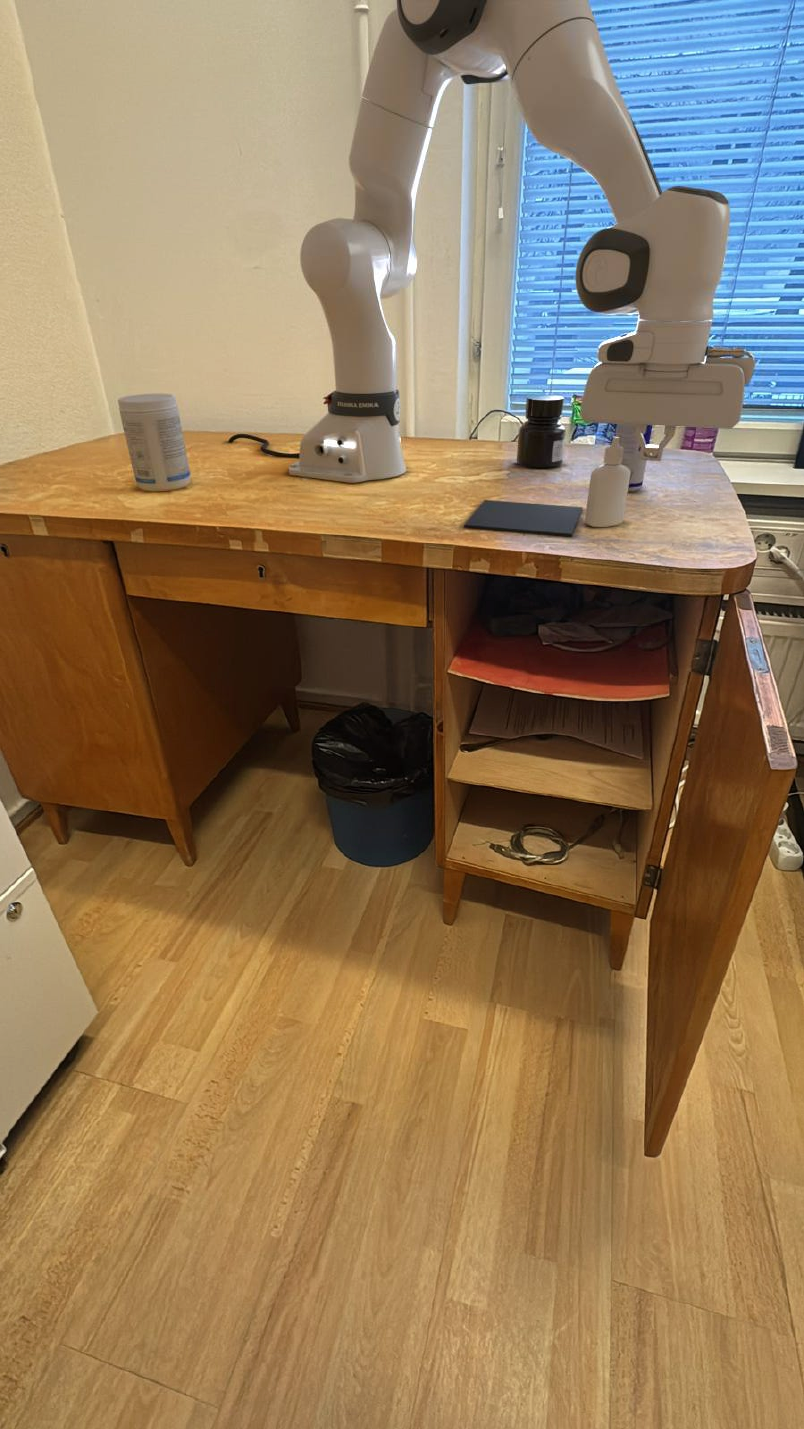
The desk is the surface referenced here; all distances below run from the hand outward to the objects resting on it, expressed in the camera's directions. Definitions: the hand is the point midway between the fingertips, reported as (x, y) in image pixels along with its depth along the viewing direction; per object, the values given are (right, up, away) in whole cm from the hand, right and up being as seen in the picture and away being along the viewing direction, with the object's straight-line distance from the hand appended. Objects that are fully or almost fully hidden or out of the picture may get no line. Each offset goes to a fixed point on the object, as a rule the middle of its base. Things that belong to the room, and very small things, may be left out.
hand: (649, 459), depth 94 cm
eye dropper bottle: (-4, -7, +7) cm, 11 cm away
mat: (-16, -5, +9) cm, 19 cm away
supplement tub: (-77, +6, +29) cm, 83 cm away
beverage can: (+4, +4, +24) cm, 24 cm away
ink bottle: (-7, +14, +40) cm, 43 cm away
